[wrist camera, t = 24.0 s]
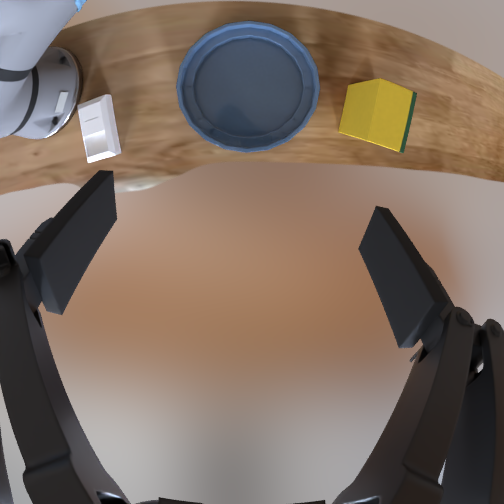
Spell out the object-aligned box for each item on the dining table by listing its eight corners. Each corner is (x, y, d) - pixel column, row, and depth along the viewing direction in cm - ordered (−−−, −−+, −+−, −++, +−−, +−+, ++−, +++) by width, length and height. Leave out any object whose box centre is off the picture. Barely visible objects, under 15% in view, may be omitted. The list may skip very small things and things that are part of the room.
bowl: (175, 139, 37) (168, 142, 33) (196, 23, 29) (190, 15, 26) (299, 159, 38) (303, 163, 35) (323, 43, 30) (330, 37, 27)
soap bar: (111, 94, 33) (102, 94, 31) (121, 152, 37) (113, 156, 35) (83, 104, 33) (74, 105, 31) (94, 160, 38) (85, 164, 35)
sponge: (337, 132, 36) (366, 140, 26) (348, 84, 33) (380, 77, 23) (367, 140, 36) (403, 153, 26) (377, 94, 33) (417, 93, 23)
